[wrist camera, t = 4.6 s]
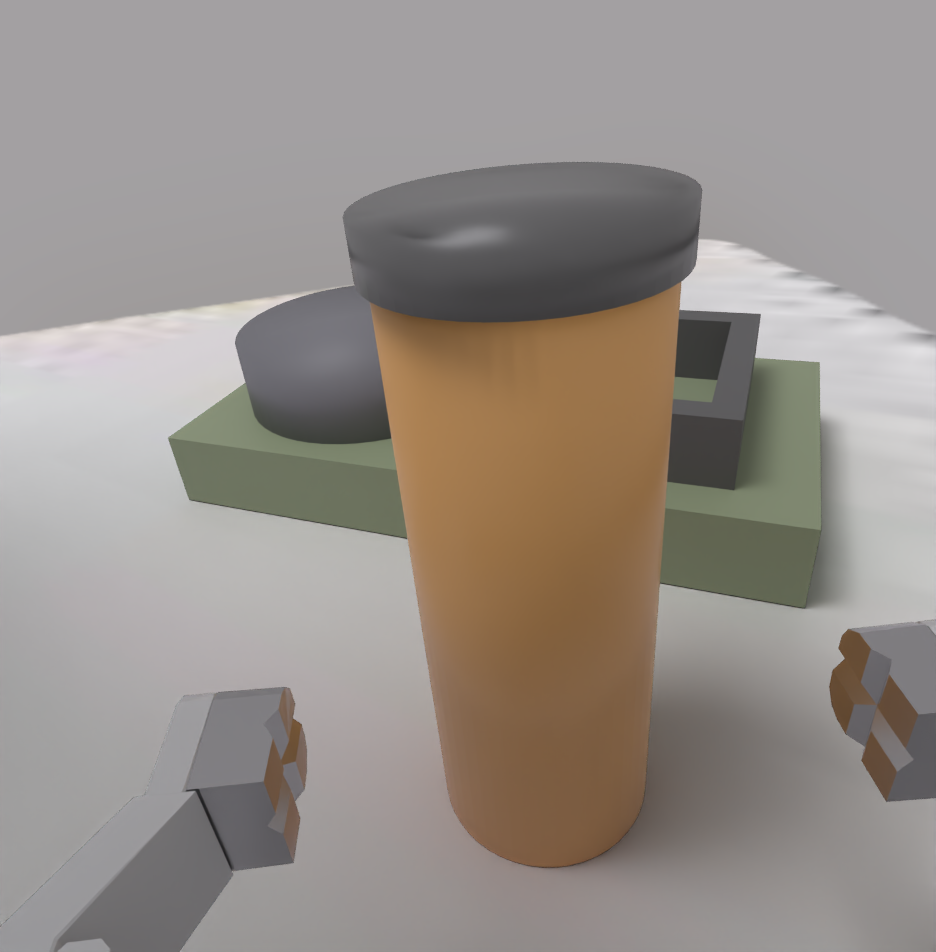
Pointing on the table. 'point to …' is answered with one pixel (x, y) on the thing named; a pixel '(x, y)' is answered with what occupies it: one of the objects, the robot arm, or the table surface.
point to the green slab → (374, 469)
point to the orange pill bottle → (533, 474)
